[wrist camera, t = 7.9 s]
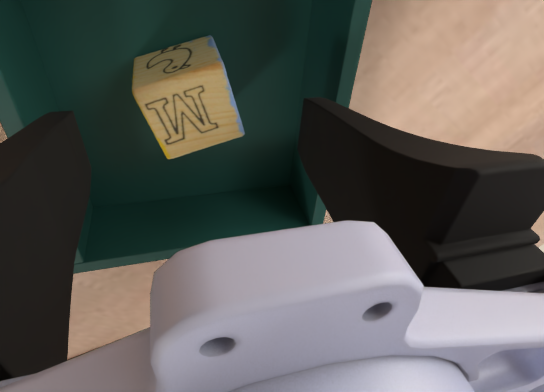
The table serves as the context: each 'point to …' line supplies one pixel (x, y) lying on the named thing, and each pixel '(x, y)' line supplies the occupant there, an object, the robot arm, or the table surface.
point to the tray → (140, 138)
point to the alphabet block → (186, 97)
